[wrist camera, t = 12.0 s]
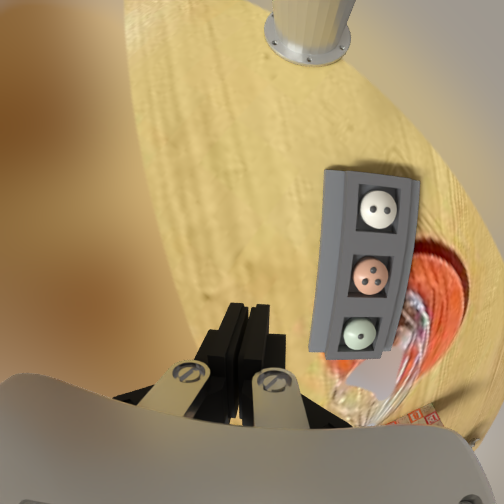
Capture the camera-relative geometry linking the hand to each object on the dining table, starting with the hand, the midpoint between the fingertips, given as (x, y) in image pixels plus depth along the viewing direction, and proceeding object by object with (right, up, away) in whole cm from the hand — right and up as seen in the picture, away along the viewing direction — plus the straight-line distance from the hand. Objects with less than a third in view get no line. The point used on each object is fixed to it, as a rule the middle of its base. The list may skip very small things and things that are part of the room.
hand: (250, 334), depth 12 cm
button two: (+16, +9, +22) cm, 29 cm away
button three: (+16, +1, +24) cm, 29 cm away
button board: (+16, +1, +26) cm, 31 cm away
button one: (+16, -8, +26) cm, 32 cm away
